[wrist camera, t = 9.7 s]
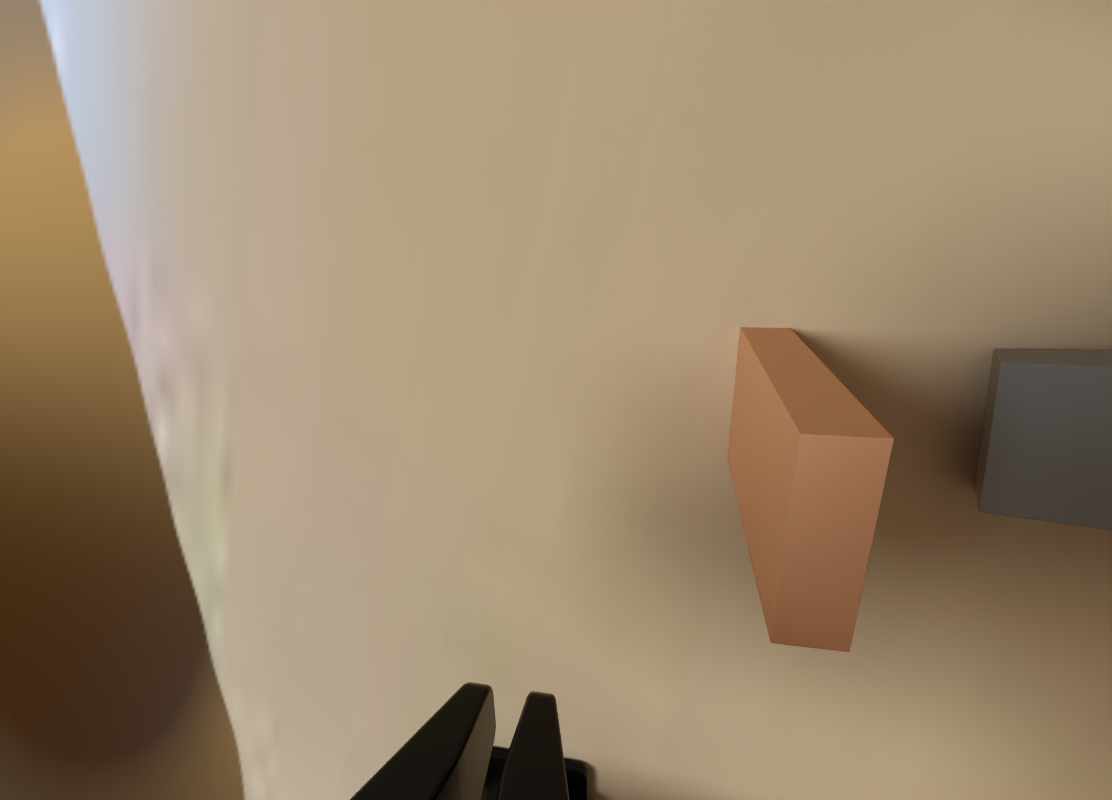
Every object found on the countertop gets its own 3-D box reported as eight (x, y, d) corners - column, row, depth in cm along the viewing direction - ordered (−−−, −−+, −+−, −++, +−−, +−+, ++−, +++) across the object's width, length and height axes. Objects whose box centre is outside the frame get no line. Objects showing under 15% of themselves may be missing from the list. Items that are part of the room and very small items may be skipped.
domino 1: (727, 459, 20) (770, 643, 12) (740, 327, 19) (800, 434, 10) (773, 462, 20) (849, 652, 12) (790, 328, 18) (893, 438, 10)
